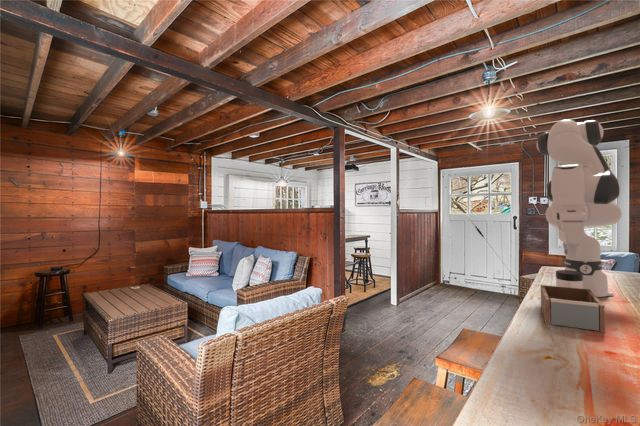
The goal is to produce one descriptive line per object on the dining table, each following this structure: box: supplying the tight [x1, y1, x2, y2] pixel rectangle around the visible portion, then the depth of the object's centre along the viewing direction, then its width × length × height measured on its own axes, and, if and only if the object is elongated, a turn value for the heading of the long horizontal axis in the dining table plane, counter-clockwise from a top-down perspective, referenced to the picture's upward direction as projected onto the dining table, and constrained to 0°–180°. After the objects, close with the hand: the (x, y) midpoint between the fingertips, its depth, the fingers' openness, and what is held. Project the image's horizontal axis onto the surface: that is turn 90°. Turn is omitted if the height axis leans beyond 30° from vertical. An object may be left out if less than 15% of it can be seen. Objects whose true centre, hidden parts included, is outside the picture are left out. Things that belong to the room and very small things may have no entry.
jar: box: [555, 269, 583, 289], centre depth 117 cm, size 9×8×12 cm
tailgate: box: [550, 298, 600, 332], centre depth 94 cm, size 1×11×8 cm, turn 58°
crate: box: [540, 284, 606, 333], centre depth 102 cm, size 20×14×8 cm
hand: (569, 256), depth 98 cm, fingers open, 6 cm apart
